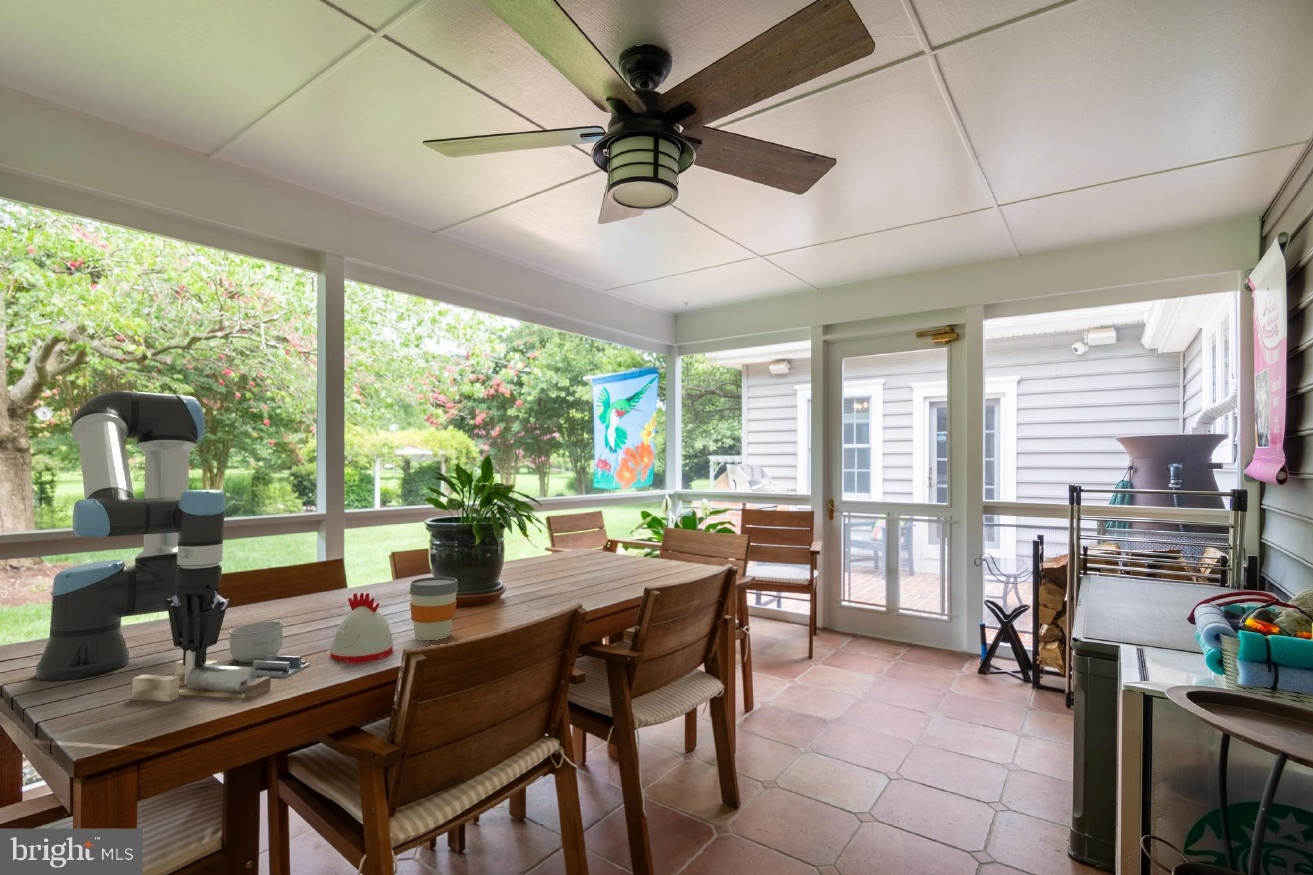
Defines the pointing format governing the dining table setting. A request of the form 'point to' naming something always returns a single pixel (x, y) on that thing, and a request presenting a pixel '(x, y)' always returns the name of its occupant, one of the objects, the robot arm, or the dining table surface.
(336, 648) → the kitchen timer
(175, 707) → the dining table surface
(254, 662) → the v block
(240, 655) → the teacup
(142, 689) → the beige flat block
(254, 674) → the axle
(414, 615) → the reusable coffee cup
